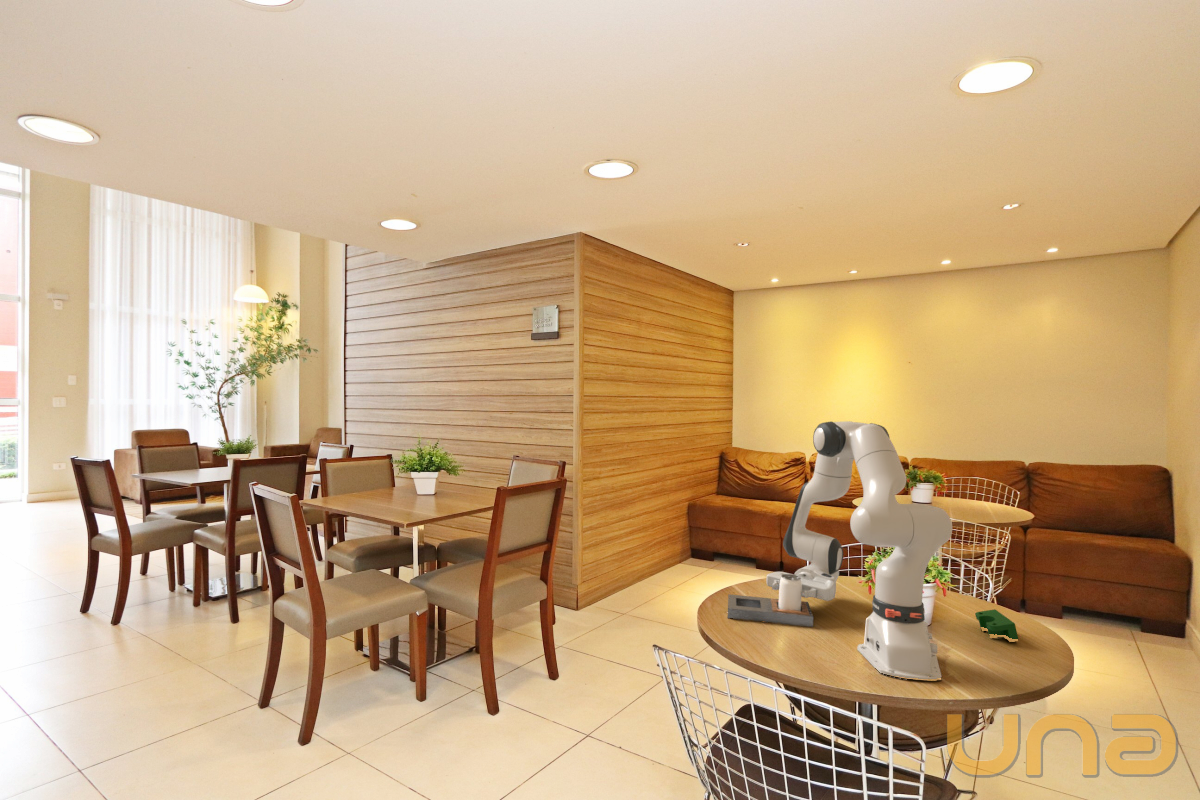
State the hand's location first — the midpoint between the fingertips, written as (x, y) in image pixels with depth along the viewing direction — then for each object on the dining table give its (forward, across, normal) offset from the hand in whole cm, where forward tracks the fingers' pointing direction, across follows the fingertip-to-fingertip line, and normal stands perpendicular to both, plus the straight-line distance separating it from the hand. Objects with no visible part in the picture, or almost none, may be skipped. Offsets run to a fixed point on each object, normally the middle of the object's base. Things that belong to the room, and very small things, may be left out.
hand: (788, 591), depth 184 cm
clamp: (-31, +48, +8) cm, 57 cm away
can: (-1, 0, +8) cm, 8 cm away
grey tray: (+2, -5, +8) cm, 10 cm away
